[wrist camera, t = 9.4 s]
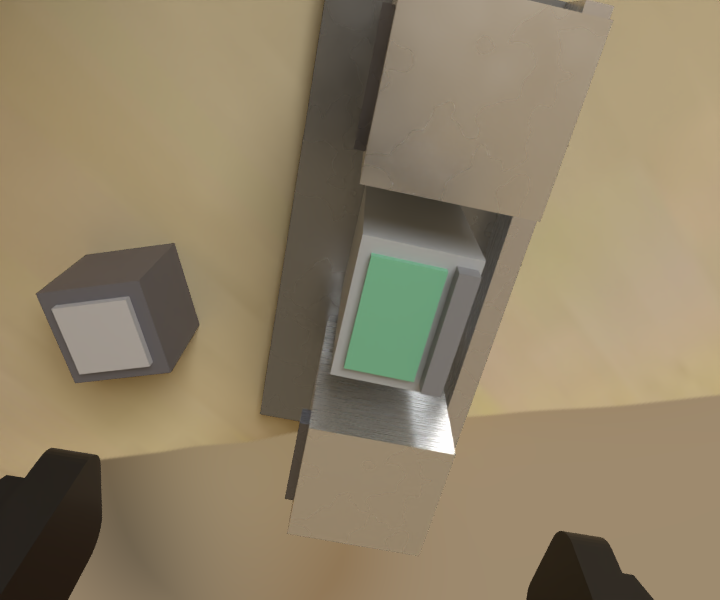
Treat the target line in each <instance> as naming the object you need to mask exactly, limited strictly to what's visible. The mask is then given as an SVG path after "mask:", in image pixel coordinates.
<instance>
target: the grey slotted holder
mask: <svg viewBox="0 0 720 600" xmlns="http://www.w3.org/2000/svg"><path fill="white" fill-rule="evenodd" d="M613 8H614V6H611V5H607V4H603V3H598V2H594V1H590V0H580V1H572V2H563V1H559V0H325V3H324V9H323V15H322V22H321V28H320V35H319V41H318V47H317V54H316V60H315V67H314V73H313V79H312V86H311V92H310V99H309V105H308V111H307V118H306V124H305V130H304V137H303V143H302V150H301V156H300V162H299V169H298V175H297V182H296V188H295V194H294V201H293V207H292V214H291V220H290V226H289V233H288V239H287V246H286V252H285V258H284V265H283V271H282V277H281V284H280V290H279V297H278V303H277V309H276V316H275V322H274V329H273V335H272V341H271V348H270V354H269V361H268V367H267V373H266V380H265V386H264V392H263V399H262V405H261V412H260V414H262V415H268V416H273V417H279V418H284V419H290V420H295V421H300V424H299V429H298V434H297V440H296V445H295V450H294V455H293V460H292V465H291V470H290V476H289V480H288V485H287V491H286V495H285V499H289V500H293V504H292V510H291V515H290V521H289V526H288V532H287V534H291V535H297V536H303V537H309V538H315V539H321V540H327V541H333V542H338V543H344V544H351V545H356V546H362V547H369V548H374V549H380V550H386V551H392V552H398V553H404V554H409V555H415V556H419V555H420V551H421V549H422V546H423V544H424V541H425V538H426V535H427V532H428V530H429V527H430V524H431V521H432V518H433V516H434V513H435V510H436V508H437V505H438V502H439V499H440V496H441V494H442V491H443V488H444V485H445V483H446V480H447V477H448V475H449V472H450V469H451V466H452V464H453V461H454V458H455V455H456V454H455V447H456V445H457V442H458V439H459V436H460V433H461V431H462V428H463V425H464V422H465V420H466V417H467V414H468V411H469V408H470V406H471V403H472V400H473V397H474V395H475V392H476V389H477V386H478V383H479V381H480V378H481V375H482V372H483V370H484V367H485V364H486V361H487V358H488V356H489V353H490V350H491V347H492V344H493V342H494V339H495V336H496V333H497V331H498V328H499V325H500V322H501V319H502V317H503V314H504V311H505V308H506V306H507V303H508V300H509V297H510V294H511V292H512V289H513V286H514V283H515V281H516V278H517V275H518V272H519V269H520V267H521V264H522V261H523V258H524V256H525V253H526V250H527V247H528V244H529V242H530V239H531V236H532V233H533V231H534V228H535V225H536V222H537V221H538V222H540V221H541V218H542V215H543V213H544V210H545V207H546V204H547V202H548V199H549V196H550V193H551V191H552V188H553V185H554V182H555V180H556V177H557V174H558V171H559V169H560V166H561V163H562V160H563V158H564V155H565V152H566V149H567V147H568V144H569V141H570V138H571V135H572V133H573V130H574V127H575V124H576V122H577V119H578V116H579V113H580V111H581V108H582V105H583V102H584V100H585V97H586V94H587V91H588V89H589V86H590V83H591V80H592V78H593V75H594V72H595V69H596V67H597V64H598V61H599V58H600V56H601V53H602V50H603V47H604V45H605V42H606V39H607V36H608V34H609V31H610V28H611V25H612V22H613V20H610V17H611V14H612V11H613ZM365 185H367V186H372V187H376V188H381V189H386V190H391V191H395V192H400V193H405V194H410V195H414V196H419V197H424V198H429V199H433V200H438V201H443V202H448V203H452V204H457V205H460V206H461V208H462V210H463V213H464V215H465V217H466V219H467V221H468V223H469V226H470V228H471V230H472V232H473V234H474V236H475V239H476V241H477V243H478V245H479V247H480V249H481V252H482V254H483V256H484V258H485V260H486V263H485V266H484V268H483V271H482V274H481V278H482V279H481V282H480V285H479V288H478V291H477V293H476V296H475V299H474V302H473V305H472V308H471V311H470V314H469V317H468V320H467V322H466V325H465V328H464V331H463V334H462V337H461V340H460V343H459V346H458V349H457V351H456V354H455V357H454V360H453V363H452V366H451V369H450V372H449V375H448V377H447V380H446V383H445V386H444V389H443V392H442V395H441V398H439V397H434V396H429V395H424V394H420V392H416V391H411V390H406V389H401V388H396V387H391V386H386V385H381V384H376V383H371V382H366V381H361V380H356V379H351V378H346V377H341V376H336V375H331V374H330V371H331V364H332V357H333V349H334V342H335V335H336V327H337V320H338V313H339V306H340V298H341V291H342V286H343V282H344V277H345V273H346V268H347V264H348V260H349V255H350V251H351V246H352V242H353V237H354V233H355V229H356V224H357V220H358V215H359V211H360V207H361V202H362V198H363V193H364V189H365Z"/></svg>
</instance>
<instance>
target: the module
mask: <svg viewBox="0 0 720 600" xmlns="http://www.w3.org/2000/svg"><path fill="white" fill-rule="evenodd" d="M485 263H486V260H485V258H484V256H483V254H482V252H481V249H480V247H479V245H478V243H477V241H476V239H475V236H474V234H473V232H472V230H471V228H470V226H469V223H468V221H467V219H466V217H465V215H464V213H463V210H462V208H461V206H460V205H457V204H452V203H448V202H443V201H438V200H433V199H429V198H424V197H419V196H414V195H410V194H405V193H400V192H395V191H391V190H386V189H381V188H376V187H372V186H367V185H365V189H364V193H363V198H362V202H361V207H360V211H359V215H358V220H357V224H356V229H355V233H354V237H353V242H352V246H351V251H350V255H349V260H348V264H347V268H346V273H345V277H344V282H343V286H342V291H341V298H340V306H339V313H338V320H337V327H336V335H335V342H334V349H333V357H332V364H331V371H330V374H331V375H336V376H341V377H346V378H351V379H356V380H361V381H366V382H371V383H376V384H381V385H386V386H391V387H396V388H401V389H406V390H411V391H416V392H420V394H424V395H429V396H434V397H439V398H441V395H442V392H443V389H444V386H445V383H446V380H447V377H448V375H449V372H450V369H451V366H452V363H453V360H454V357H455V354H456V351H457V349H458V346H459V343H460V340H461V337H462V334H463V331H464V328H465V325H466V322H467V320H468V317H469V314H470V311H471V308H472V305H473V302H474V299H475V296H476V293H477V291H478V288H479V285H480V282H481V279H482V278H481V274H482V271H483V268H484V266H485Z"/></svg>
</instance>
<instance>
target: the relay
mask: <svg viewBox="0 0 720 600" xmlns="http://www.w3.org/2000/svg"><path fill="white" fill-rule="evenodd" d="M36 295H37V298H38V300H39V302H40V304H41V307H42V309H43V311H44V313H45V316H46V318H47V320H48V323H49V325H50V327H51V329H52V332H53V334H54V336H55V338H56V341H57V343H58V345H59V348H60V350H61V352H62V354H63V357H64V359H65V361H66V363H67V366H68V368H69V370H70V373H71V375H72V377H73V379H74V382H75V383H81V382H90V381H99V380H108V379H117V378H126V377H135V376H144V375H153V374H162V373H171V371H172V370H173V368H174V366H175V365H176V363H177V361H178V360H179V358H180V356H181V355H182V353H183V351H184V350H185V348H186V346H187V345H188V343H189V341H190V340H191V338H192V336H193V335H194V333H195V331H196V330H197V328H198V327H199V321H198V318H197V315H196V312H195V308H194V305H193V302H192V299H191V295H190V292H189V289H188V286H187V282H186V279H185V276H184V273H183V270H182V266H181V263H180V260H179V257H178V253H177V250H176V247H175V244H174V243H171V244H164V245H156V246H149V247H141V248H134V249H126V250H119V251H111V252H104V253H96V254H89V255H85V256H84V257H82V258H81V259H80V260H79V261H77V262H76V263H75V264H73V265H72V266H71V267H70V268H68V269H67V270H66V271H64V272H63V273H62V274H61V275H59V276H58V277H57V278H55V279H54V280H53V281H52V282H50V283H49V284H48V285H46V286H45V287H44V288H43V289H41V290H40V291H39V292H37V293H36Z"/></svg>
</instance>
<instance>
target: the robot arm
mask: <svg viewBox="0 0 720 600" xmlns="http://www.w3.org/2000/svg"><path fill="white" fill-rule="evenodd" d="M100 466H101V465H100V458H99V456H98V455H94V454H88V453H81V452H75V451H69V450H63V449H56V448H50V449H48V450H47V451H46V452H45V453H44V454H43V455H42V456H41V457H40V458H39V460H38V461H37V462H36V464H35V465H34V466H33V468H32V469H31V470H30V472H29V473H28V474H27V476H26V477H25V478H22V477H15V476H9V475H6V476H5V477H3V478H2V479H0V600H68V598H69V596H70V595H71V593H72V591H73V589H74V587H75V585H76V583H77V582H78V580H79V577H80V576H81V574H82V572H83V570H84V568H85V566H86V564H87V563H88V561H89V559H90V557H91V555H92V553H93V550H94V548H95V545H96V543H97V539H98V536H99V532H100V528H101V522H102V500H101V467H100ZM527 600H653V598H652V597H651V596H650V595H649V593H648V592H647V591H646V590H645V588H644V587H643V586H642V585H641V584H640V582H639V581H638V580H637V579H636V578H635V576H634V575H629V574H624V573H622V571H621V570H620V567H619V565H618V562H617V560H616V558H615V555H614V553H613V551H612V549H611V547H610V545H609V543H608V542H607V541H606V540H605V539H603V538H601V537H595V536H589V535H583V534H577V533H570V532H564V531H559V532H557V533H556V534H555V535H554V537H553V539H552V541H551V543H550V545H549V547H548V549H547V551H546V553H545V555H544V557H543V559H542V561H541V563H540V565H539V567H538V569H537V571H536V573H535V575H534V577H533V579H532V581H531V583H530V585H529V588H528V593H527Z"/></svg>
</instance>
